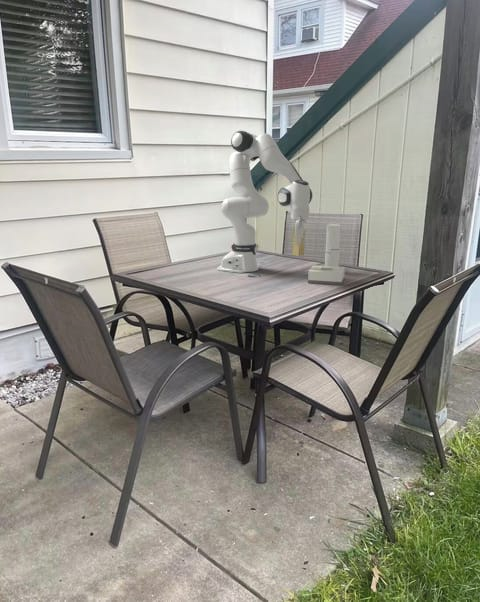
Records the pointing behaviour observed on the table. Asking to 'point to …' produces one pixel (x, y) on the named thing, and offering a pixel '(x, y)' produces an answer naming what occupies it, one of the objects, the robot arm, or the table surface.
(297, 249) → the brass peg
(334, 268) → the socket block
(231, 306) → the table surface
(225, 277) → the table surface
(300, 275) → the table surface
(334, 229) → the cylindrical container
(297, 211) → the robot arm
